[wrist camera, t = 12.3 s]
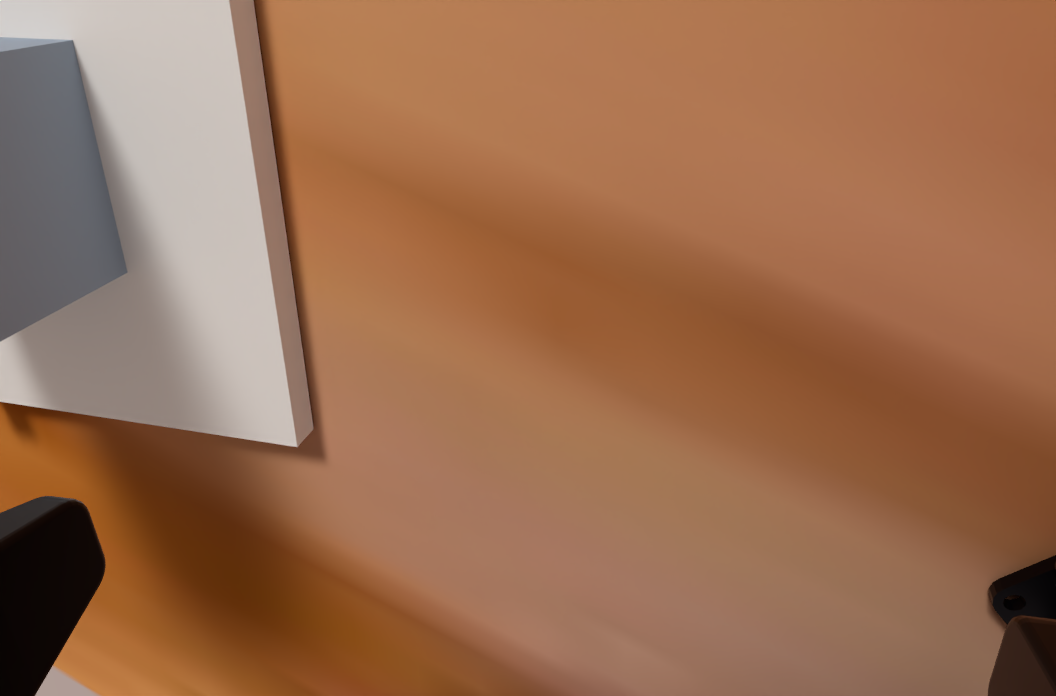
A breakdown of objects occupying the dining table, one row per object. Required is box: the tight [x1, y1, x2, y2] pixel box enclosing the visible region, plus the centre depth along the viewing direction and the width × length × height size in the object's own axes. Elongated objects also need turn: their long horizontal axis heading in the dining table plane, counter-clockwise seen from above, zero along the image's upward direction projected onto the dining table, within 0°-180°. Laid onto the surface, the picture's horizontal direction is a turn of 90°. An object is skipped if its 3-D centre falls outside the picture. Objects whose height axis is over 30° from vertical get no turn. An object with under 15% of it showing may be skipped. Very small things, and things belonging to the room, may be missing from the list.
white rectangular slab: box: [0, 0, 314, 447], centre depth 22 cm, size 12×16×2 cm
